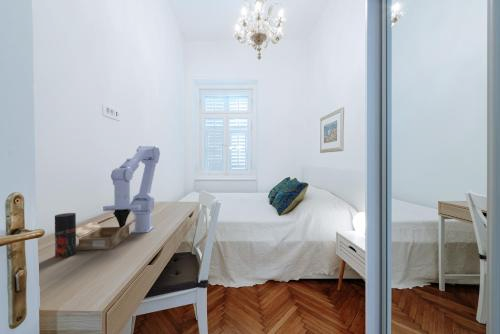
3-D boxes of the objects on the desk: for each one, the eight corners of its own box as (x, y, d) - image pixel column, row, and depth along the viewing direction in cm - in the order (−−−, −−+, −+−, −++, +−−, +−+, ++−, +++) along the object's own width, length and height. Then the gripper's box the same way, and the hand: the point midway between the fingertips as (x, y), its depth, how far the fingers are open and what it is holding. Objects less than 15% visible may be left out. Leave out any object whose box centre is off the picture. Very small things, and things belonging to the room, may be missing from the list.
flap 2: (128, 225, 102) (135, 219, 102) (129, 225, 102) (135, 219, 102) (111, 235, 87) (119, 228, 87) (112, 236, 87) (120, 229, 87)
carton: (102, 236, 101) (102, 226, 101) (129, 235, 103) (129, 226, 103) (78, 250, 85) (78, 239, 85) (110, 249, 86) (110, 238, 86)
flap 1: (101, 226, 101) (93, 221, 100) (101, 226, 101) (94, 221, 100) (79, 237, 86) (70, 232, 85) (79, 237, 86) (70, 231, 85)
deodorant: (80, 252, 83) (79, 213, 83) (62, 259, 77) (62, 217, 77) (68, 251, 85) (68, 212, 84) (50, 257, 79) (50, 216, 79)
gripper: (98, 197, 89) (99, 230, 90) (136, 196, 91) (136, 229, 91) (108, 194, 96) (108, 225, 97) (142, 194, 98) (142, 224, 98)
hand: (122, 227), depth 94 cm, fingers closed
